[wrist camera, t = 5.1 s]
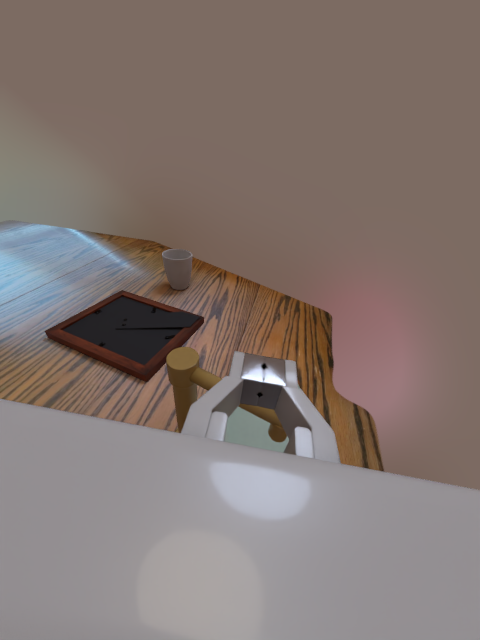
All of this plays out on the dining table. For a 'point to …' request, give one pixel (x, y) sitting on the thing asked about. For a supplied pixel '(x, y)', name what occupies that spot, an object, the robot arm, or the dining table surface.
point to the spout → (188, 372)
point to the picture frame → (128, 332)
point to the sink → (251, 431)
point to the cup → (178, 267)
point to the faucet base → (184, 403)
